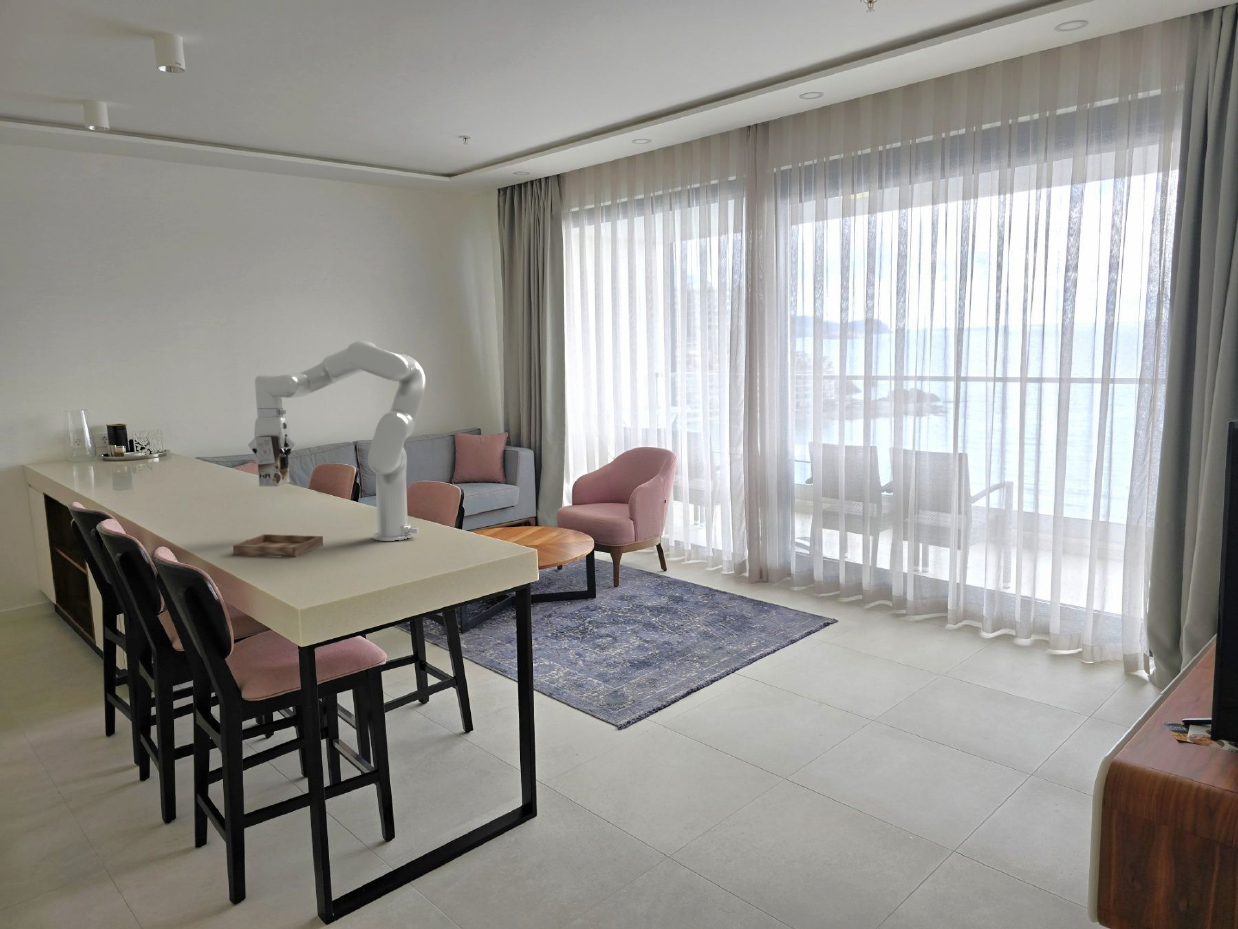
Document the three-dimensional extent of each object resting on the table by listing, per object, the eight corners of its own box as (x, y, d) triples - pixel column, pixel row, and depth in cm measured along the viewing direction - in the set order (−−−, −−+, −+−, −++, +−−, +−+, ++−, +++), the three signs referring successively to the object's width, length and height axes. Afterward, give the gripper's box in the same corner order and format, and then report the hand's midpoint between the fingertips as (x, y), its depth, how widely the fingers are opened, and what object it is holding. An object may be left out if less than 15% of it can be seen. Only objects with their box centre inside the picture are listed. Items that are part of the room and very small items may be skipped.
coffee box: (278, 486, 259) (275, 436, 257) (258, 486, 259) (255, 436, 257) (290, 482, 268) (287, 433, 266) (271, 482, 268) (267, 433, 266)
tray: (323, 545, 256) (322, 536, 256) (295, 557, 240) (295, 547, 240) (264, 543, 259) (264, 534, 259) (233, 555, 243) (233, 545, 243)
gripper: (301, 412, 263) (304, 467, 265) (252, 413, 266) (255, 467, 268) (288, 414, 256) (292, 470, 258) (238, 414, 258) (242, 470, 261)
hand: (273, 468), depth 263 cm, fingers closed on coffee box, 6 cm apart
